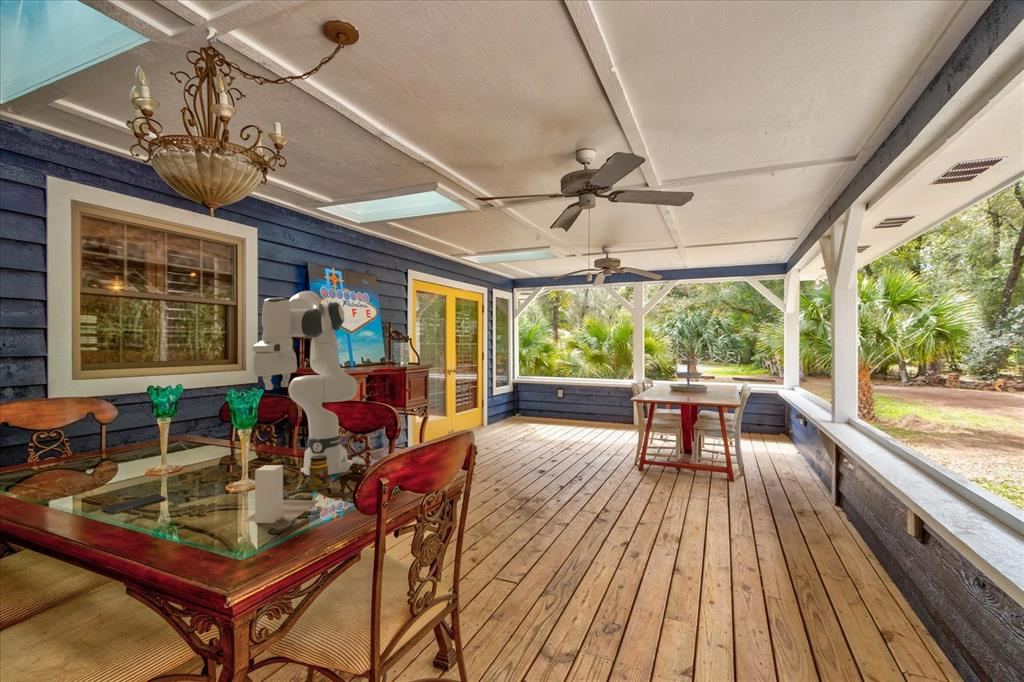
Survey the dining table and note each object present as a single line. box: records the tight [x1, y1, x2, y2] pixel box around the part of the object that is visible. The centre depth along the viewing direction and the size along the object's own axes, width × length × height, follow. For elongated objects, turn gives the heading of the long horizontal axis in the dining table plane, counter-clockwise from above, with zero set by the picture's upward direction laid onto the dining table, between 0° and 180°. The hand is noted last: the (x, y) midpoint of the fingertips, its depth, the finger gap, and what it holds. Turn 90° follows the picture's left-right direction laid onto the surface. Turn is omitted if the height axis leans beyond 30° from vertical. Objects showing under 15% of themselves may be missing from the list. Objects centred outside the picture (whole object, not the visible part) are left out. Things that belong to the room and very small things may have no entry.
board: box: [243, 499, 319, 523], centre depth 143 cm, size 18×14×1 cm
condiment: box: [308, 455, 329, 492], centre depth 165 cm, size 7×8×12 cm
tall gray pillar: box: [254, 464, 284, 524], centre depth 135 cm, size 5×5×15 cm
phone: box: [101, 494, 167, 514], centre depth 151 cm, size 8×1×15 cm
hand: (277, 388), depth 154 cm, fingers open, 8 cm apart
